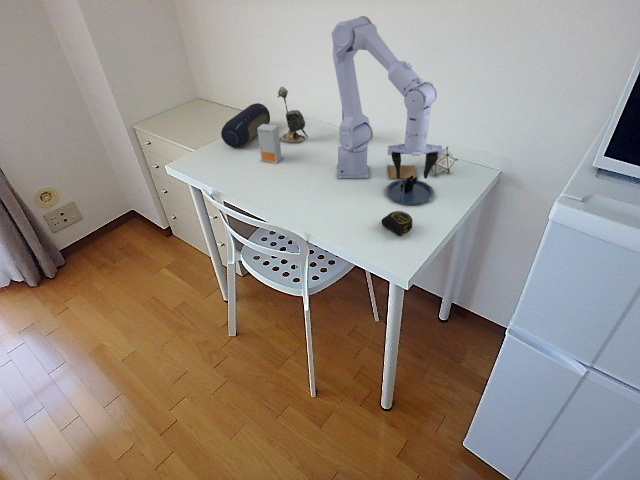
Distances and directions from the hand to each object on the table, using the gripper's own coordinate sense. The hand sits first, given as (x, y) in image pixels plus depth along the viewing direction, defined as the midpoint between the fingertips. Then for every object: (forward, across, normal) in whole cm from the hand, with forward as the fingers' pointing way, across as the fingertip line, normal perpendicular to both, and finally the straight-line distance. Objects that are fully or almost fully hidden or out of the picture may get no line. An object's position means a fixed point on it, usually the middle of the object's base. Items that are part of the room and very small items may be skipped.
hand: (411, 176), depth 115 cm
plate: (+6, 0, 0) cm, 6 cm away
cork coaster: (+6, -1, +12) cm, 14 cm away
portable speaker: (+6, -57, +40) cm, 70 cm away
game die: (+6, +11, +12) cm, 17 cm away
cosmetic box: (+6, -45, +22) cm, 50 cm away
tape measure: (+6, -5, -18) cm, 20 cm away
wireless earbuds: (+5, 0, 0) cm, 5 cm away
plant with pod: (+6, -39, +38) cm, 54 cm away
